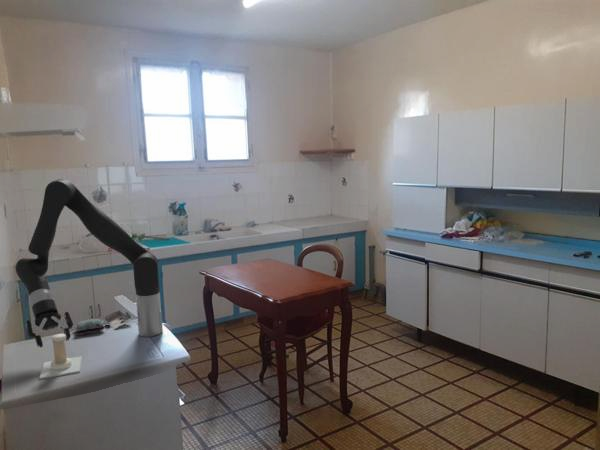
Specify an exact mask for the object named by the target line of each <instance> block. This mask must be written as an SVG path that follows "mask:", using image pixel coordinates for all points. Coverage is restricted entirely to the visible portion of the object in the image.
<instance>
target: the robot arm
mask: <svg viewBox="0 0 600 450" xmlns="http://www.w3.org/2000/svg"><path fill="white" fill-rule="evenodd" d="M65 207H66V208H68V209H69V210H71V211H72V212H73V213H74V214H75V215H76V216H77V217H78V219H79V220H80V221H81V223H82V224H83V225H84V227H85V229H86V230H87V231H88V232H89V233H90V234H91V235H92V236H93V237H95V238H96V239H97V240H98V241H99V242H100V243H102V244H103V245H104V246H106V247H108V248H109V249H111V250H113V251H115V252H118V253H120V254H121V255H122V256H123V257H125V258H126V259H127V260H128V261H129V262H130V263H131V265H133V268H132V269H133V282H134V289H135V297H136V298H135V299H136V310H137V311H136V313H137V326H138V329H137V331H138V335H139V337H147V338H149V337H154V336H155V337H156V336H158V335H160V333H161V334H163V333H164V332H163V331H164V330H163V329H164V328H163V316H162V313H163V312H162V308H161V306H162V305H161V292H160V291H161V290H160V280H159V260H158V258H157V257H156V255H155V254H154V253H152V252H151V251H149V250H147V249H146V248H145V247H144V246H142V245H141V244H139V243H137V241H135V240H134V239H133V237H131V236H130V235H129V233H127V231H125V229H123V228H122V227H121V226H120V225H119V223H117V222H116V221H114V220H113V219H112V218H111V217H110V216H109V215H107V214H106V213H105V212H104V211H103V210H101V208H99V207H98V206H97V205H95V204H94V203H92V202H91V201H90V200H89V199H88V198H87V197H86V196H85V195H84V194H83V193H82V192H81V191H80V190H79V188H77V186H76V185H75V184H74V183H73V182H72V181H70V180H68V179H64V178H60V179H59V178H58V179H55V180H53V181H50V182H49V183H48V184H47V186H46V187H45V190H44V194H43V201H42V206H41V211H40V215H39V217H38V222H37V224H36V225H35V228H34V231H33V234H32V237H31V240H30V243H29V244H28V252H30V253H31V254H32V255H36V256H37V257H36V258H30V257H23V258H20V259H18V260H17V262H16V265H15V272H16V275H17V277H18V278H19V280H20V281H21V282H22V284H23V286H25V288H26V290H27V293H28V297H29V304H30V307H31V309H32V314H33V317H34V320H30V319H28V320H27V321H26V322H25V327H26V333H27V337H28V339H29V340H31V339H35V343H36V345H37V347H39V348H43V346H44V344H43V343H44V342H43V340H42V337H41V334H42V332H43V330H44V331H48V330H52V329H56V328H57V329H59V330H61V331H63V334H65V335H66V339H65V342H66V341H70V338H71V333H70V330H71V329H73V326H74V322H73V320H72V318H71V315H70V313H69V311H65V312H64V313H61V314H60V313H59V311H58V307H57V304H56V302H55V299H54V296H53V293H52V291H51V289H50V285H49V283H48V280H47V279H46V278H45V277H44V276H45V275H46V273H47V272H48V269H49V258H50V256H49V255H50V250H51V247H52V244H53V243H54V239H55V237H56V232H57V226H58V221H59V218H60V216H61V213H62V211H63V210H64V208H65ZM61 319H63V320H64V321H65V322H66V323H64V321H62V320H61ZM34 325H35V326H36V327H38V328H37V330H36V332H35V333H34V332H33V327H34Z"/></svg>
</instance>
